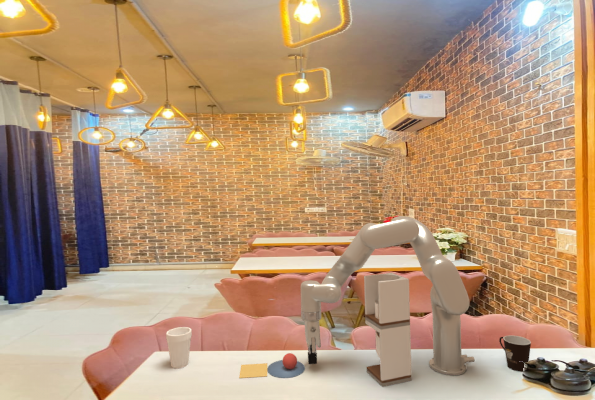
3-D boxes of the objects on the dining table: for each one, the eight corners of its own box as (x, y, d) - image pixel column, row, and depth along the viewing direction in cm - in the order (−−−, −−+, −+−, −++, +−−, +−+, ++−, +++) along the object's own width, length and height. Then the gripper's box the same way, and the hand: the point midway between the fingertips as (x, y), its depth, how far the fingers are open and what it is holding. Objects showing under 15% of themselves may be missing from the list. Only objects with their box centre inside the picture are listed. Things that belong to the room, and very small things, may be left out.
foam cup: (197, 361, 143) (196, 328, 143) (180, 372, 135) (179, 337, 135) (179, 357, 147) (178, 325, 147) (161, 367, 139) (160, 333, 139)
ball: (283, 349, 138) (280, 363, 138) (284, 356, 132) (281, 371, 132) (297, 351, 138) (295, 365, 139) (299, 358, 133) (296, 372, 133)
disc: (303, 359, 143) (302, 358, 143) (306, 376, 129) (306, 376, 129) (267, 361, 142) (267, 360, 142) (267, 379, 128) (267, 378, 128)
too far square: (267, 363, 140) (267, 363, 140) (267, 376, 130) (267, 375, 130) (241, 365, 139) (241, 364, 139) (239, 378, 129) (239, 377, 129)
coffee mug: (535, 374, 126) (535, 345, 126) (508, 372, 128) (508, 344, 128) (522, 359, 138) (521, 333, 138) (497, 357, 139) (497, 331, 139)
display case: (394, 367, 134) (391, 272, 134) (411, 380, 124) (409, 278, 124) (366, 372, 131) (364, 275, 130) (382, 386, 121) (379, 282, 120)
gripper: (324, 320, 129) (325, 372, 129) (318, 307, 144) (319, 353, 144) (303, 321, 128) (304, 373, 128) (299, 308, 143) (300, 355, 143)
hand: (312, 362), depth 136 cm, fingers closed
